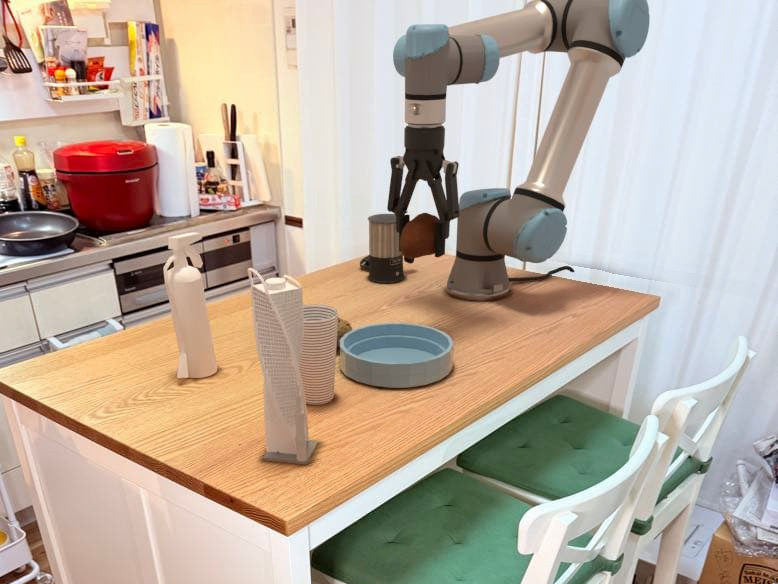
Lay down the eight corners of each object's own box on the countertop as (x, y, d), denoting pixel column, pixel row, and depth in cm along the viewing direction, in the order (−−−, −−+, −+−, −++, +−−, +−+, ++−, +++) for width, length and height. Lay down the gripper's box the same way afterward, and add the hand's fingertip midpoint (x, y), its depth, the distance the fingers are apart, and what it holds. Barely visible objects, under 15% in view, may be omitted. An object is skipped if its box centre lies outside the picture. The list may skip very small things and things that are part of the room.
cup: (296, 388, 141) (290, 304, 132) (342, 388, 141) (339, 304, 132) (290, 408, 134) (284, 320, 125) (339, 408, 134) (336, 321, 125)
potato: (388, 258, 154) (389, 216, 149) (423, 246, 161) (424, 205, 156) (419, 265, 150) (420, 222, 145) (453, 252, 157) (455, 210, 152)
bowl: (380, 339, 162) (380, 315, 159) (471, 360, 152) (473, 336, 149) (318, 372, 147) (316, 347, 144) (414, 399, 137) (415, 373, 134)
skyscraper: (254, 459, 119) (235, 276, 103) (270, 435, 126) (255, 259, 110) (306, 464, 118) (295, 279, 102) (320, 440, 124) (312, 263, 108)
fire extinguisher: (161, 381, 144) (137, 242, 130) (201, 359, 153) (183, 227, 138) (190, 388, 141) (169, 247, 127) (229, 365, 150) (213, 231, 136)
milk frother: (391, 286, 192) (392, 223, 183) (339, 276, 199) (338, 215, 190) (420, 272, 202) (422, 212, 193) (369, 263, 209) (369, 205, 200)
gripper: (367, 123, 144) (369, 249, 157) (464, 131, 134) (457, 264, 148) (388, 119, 149) (389, 241, 162) (484, 126, 139) (475, 255, 153)
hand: (421, 252), depth 155 cm, fingers closed on potato, 8 cm apart
